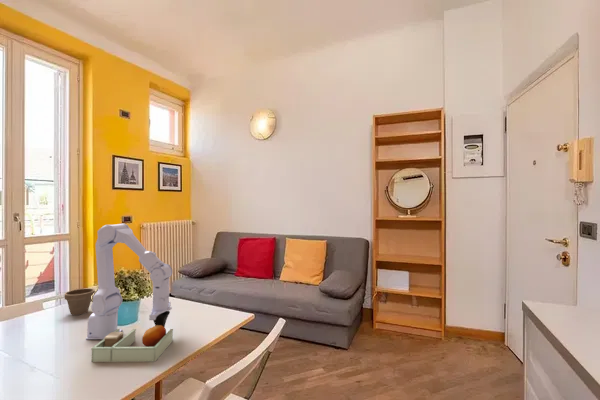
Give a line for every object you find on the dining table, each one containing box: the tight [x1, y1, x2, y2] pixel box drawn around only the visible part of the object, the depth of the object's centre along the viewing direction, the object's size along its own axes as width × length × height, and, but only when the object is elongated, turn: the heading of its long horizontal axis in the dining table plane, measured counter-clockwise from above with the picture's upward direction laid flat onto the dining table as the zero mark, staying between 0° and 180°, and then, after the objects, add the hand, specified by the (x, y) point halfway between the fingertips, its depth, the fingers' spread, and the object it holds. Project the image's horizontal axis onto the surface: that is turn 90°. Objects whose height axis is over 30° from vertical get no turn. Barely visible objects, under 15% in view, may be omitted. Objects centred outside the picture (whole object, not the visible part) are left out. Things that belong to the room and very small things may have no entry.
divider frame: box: [91, 328, 174, 363], centre depth 103 cm, size 21×15×4 cm
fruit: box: [141, 325, 167, 347], centre depth 108 cm, size 8×8×8 cm
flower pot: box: [64, 287, 96, 316], centre depth 138 cm, size 12×11×10 cm
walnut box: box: [104, 331, 124, 347], centre depth 102 cm, size 4×4×6 cm
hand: (160, 331), depth 113 cm, fingers closed
